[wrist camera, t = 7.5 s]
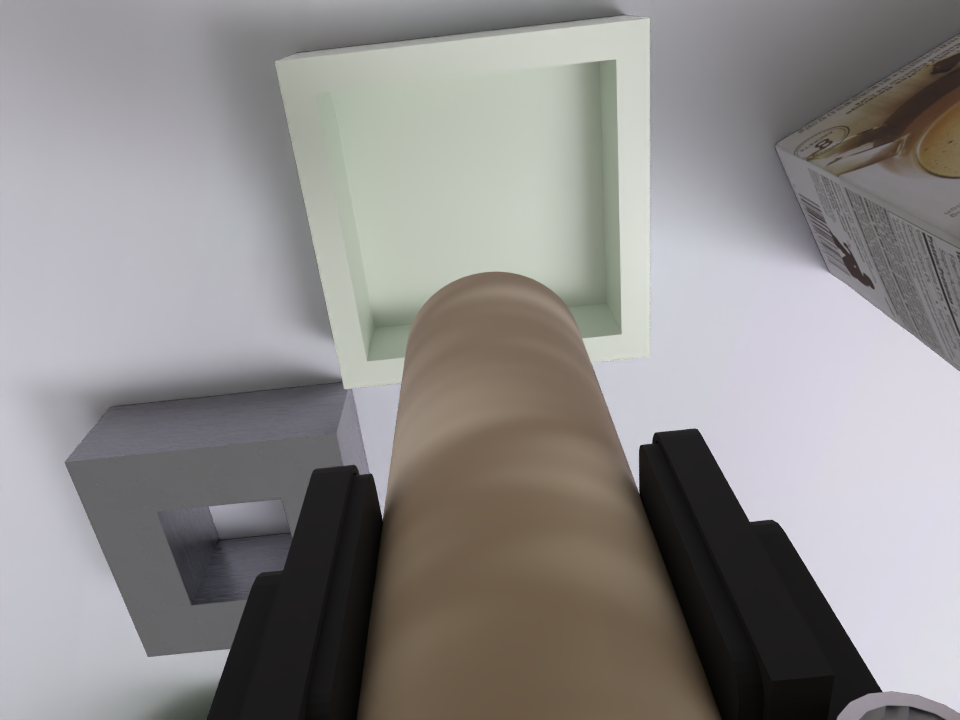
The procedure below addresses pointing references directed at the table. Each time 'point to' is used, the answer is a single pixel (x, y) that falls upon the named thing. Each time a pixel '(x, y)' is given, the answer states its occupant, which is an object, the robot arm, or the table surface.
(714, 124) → the table surface
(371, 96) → the tray
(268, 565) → the hitch block
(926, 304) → the coffee box
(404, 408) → the pin
